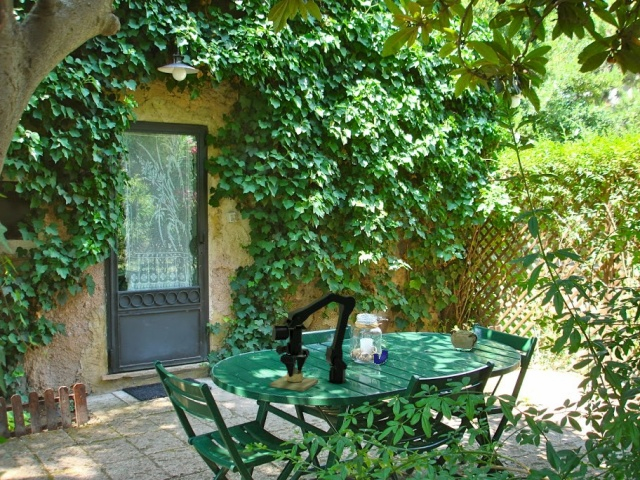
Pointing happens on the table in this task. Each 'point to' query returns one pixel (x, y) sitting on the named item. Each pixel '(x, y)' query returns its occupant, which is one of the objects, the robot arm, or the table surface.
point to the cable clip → (381, 357)
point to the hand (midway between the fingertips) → (294, 374)
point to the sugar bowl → (463, 338)
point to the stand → (294, 383)
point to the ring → (295, 377)
